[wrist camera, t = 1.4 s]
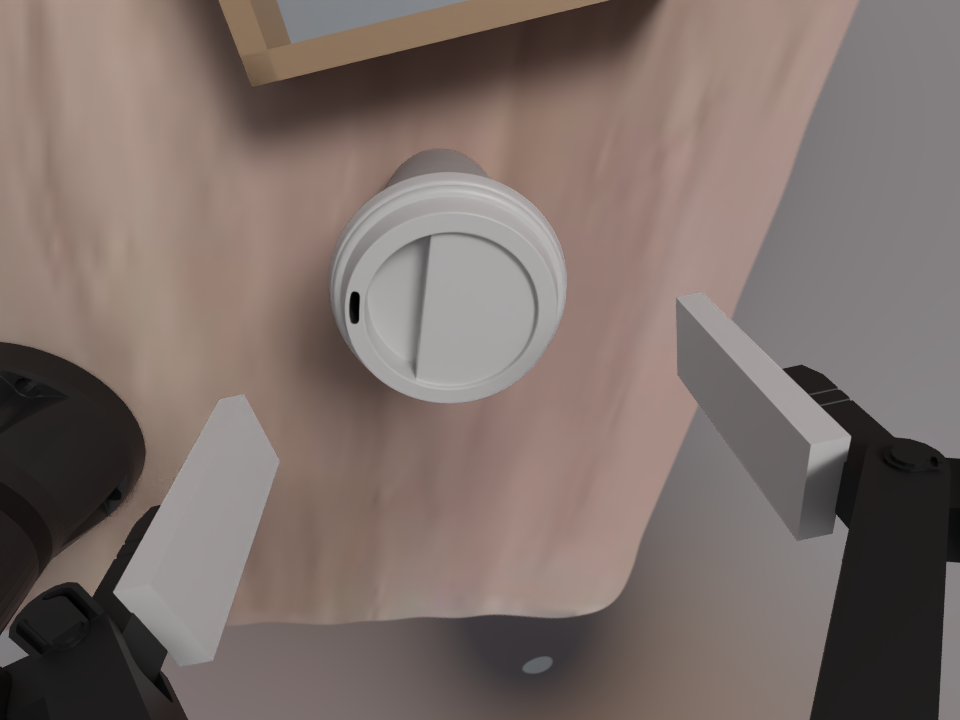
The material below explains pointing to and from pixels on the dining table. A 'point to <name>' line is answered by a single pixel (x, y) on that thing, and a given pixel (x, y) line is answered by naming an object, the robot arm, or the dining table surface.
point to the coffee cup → (447, 281)
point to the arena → (360, 29)
